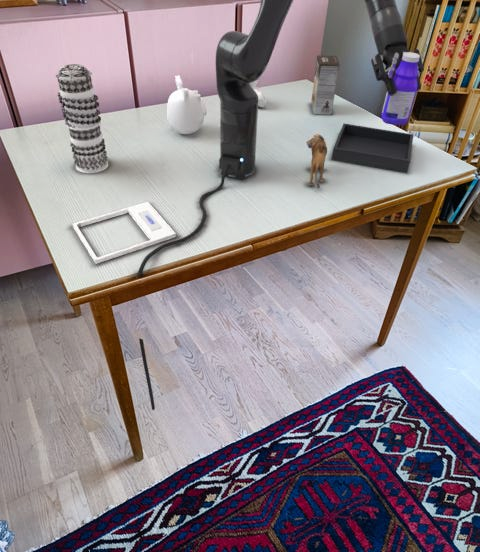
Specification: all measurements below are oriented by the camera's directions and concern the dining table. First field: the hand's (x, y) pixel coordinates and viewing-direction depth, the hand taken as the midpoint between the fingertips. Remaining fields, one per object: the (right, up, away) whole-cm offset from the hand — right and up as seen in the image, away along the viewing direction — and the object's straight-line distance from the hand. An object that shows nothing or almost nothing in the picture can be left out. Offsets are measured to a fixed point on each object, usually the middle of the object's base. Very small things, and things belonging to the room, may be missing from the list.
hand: (405, 92), depth 120 cm
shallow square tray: (-5, -12, +14) cm, 19 cm away
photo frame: (-68, -38, -18) cm, 80 cm away
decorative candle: (-83, -18, +4) cm, 85 cm away
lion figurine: (-23, -21, +3) cm, 31 cm away
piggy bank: (-59, -4, +21) cm, 63 cm away
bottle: (-1, -6, +7) cm, 9 cm away
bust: (-39, +11, +39) cm, 56 cm away
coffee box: (-15, +9, +37) cm, 41 cm away
